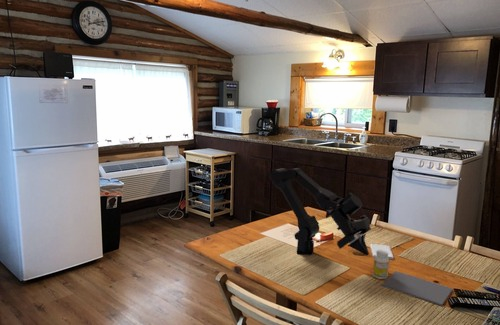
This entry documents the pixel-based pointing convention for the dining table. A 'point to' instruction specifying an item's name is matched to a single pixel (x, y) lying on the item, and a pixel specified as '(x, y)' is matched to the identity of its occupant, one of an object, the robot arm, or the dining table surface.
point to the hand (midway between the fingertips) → (367, 255)
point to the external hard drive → (381, 247)
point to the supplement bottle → (381, 264)
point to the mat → (418, 288)
